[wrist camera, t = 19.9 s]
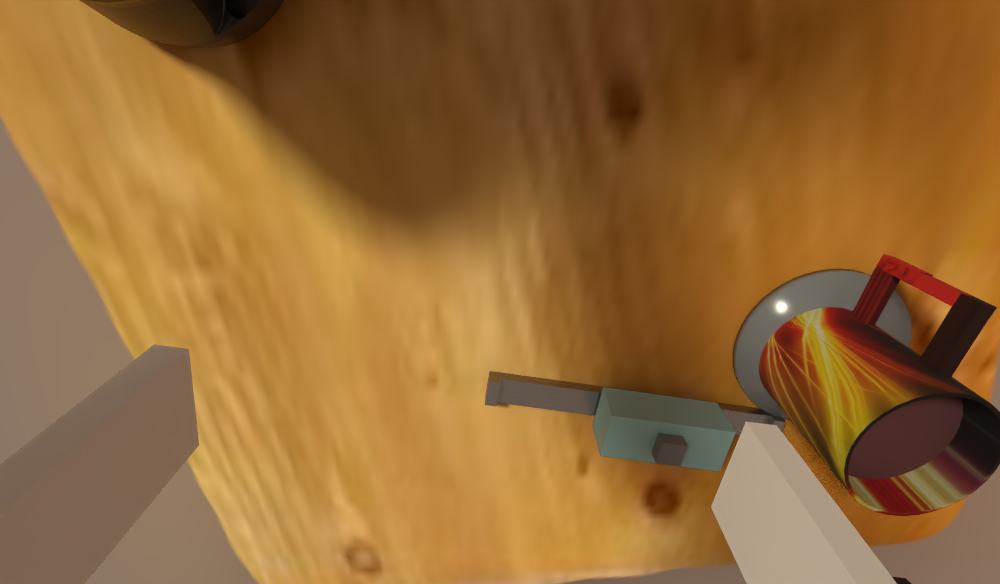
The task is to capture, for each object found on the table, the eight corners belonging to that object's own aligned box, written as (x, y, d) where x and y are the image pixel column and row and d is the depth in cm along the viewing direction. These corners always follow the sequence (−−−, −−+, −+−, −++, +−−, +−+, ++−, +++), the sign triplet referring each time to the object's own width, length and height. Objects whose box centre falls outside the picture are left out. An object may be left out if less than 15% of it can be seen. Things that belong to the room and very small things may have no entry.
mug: (884, 246, 39) (1032, 314, 28) (875, 396, 44) (997, 502, 33) (754, 272, 40) (848, 348, 29) (760, 416, 45) (841, 526, 34)
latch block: (603, 386, 44) (614, 425, 39) (716, 402, 44) (742, 442, 40) (592, 424, 45) (602, 466, 41) (702, 439, 46) (725, 482, 41)
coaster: (766, 256, 40) (771, 260, 40) (935, 282, 41) (943, 286, 40) (711, 403, 46) (714, 409, 45) (861, 424, 47) (867, 430, 46)
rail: (489, 371, 45) (488, 381, 43) (776, 411, 46) (785, 422, 45) (485, 394, 46) (484, 404, 44) (767, 432, 47) (775, 444, 46)
